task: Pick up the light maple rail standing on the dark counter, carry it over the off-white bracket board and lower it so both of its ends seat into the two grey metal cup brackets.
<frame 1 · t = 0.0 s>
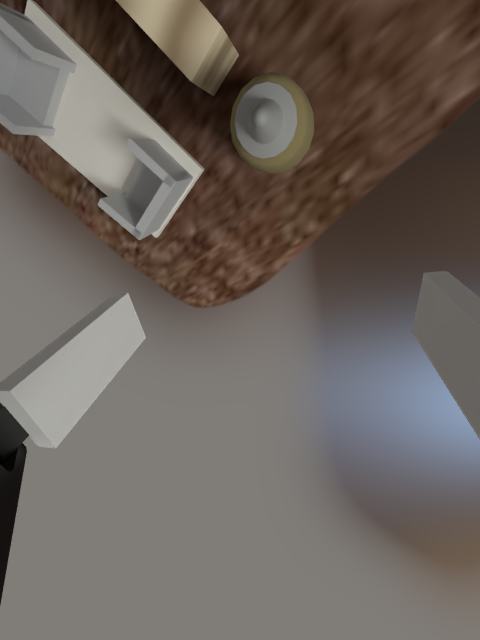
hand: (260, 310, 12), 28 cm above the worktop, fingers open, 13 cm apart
rail: (161, 3, 28), on the worktop
squeeze bottle: (277, 133, 32), on the worktop
bracket board: (107, 138, 35), on the worktop
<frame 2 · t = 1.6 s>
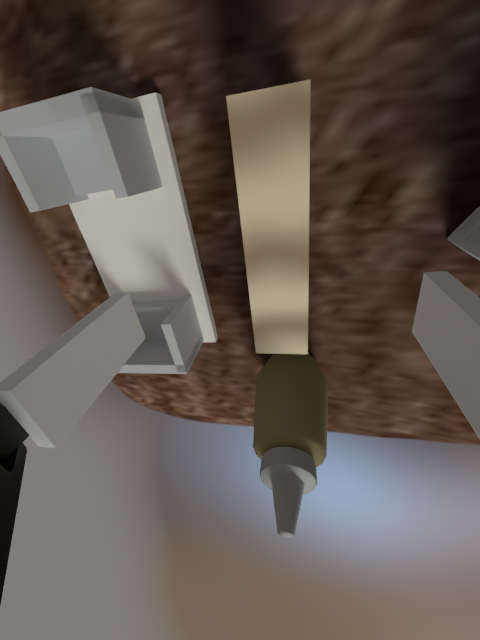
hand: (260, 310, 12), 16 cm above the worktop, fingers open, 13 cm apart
rail: (281, 226, 26), on the worktop
squeeze bottle: (291, 363, 34), on the worktop
bracket board: (144, 247, 29), on the worktop
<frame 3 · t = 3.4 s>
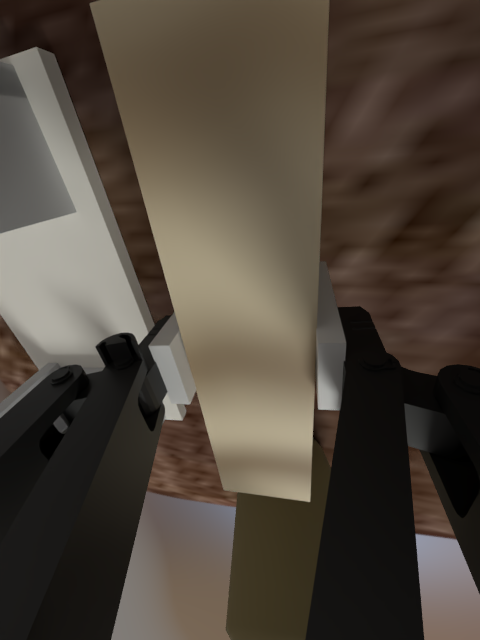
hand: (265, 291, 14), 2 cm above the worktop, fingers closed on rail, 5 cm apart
rail: (269, 274, 16), on the worktop, touching gripper
squeeze bottle: (289, 446, 25), on the worktop
bracket board: (69, 296, 20), on the worktop
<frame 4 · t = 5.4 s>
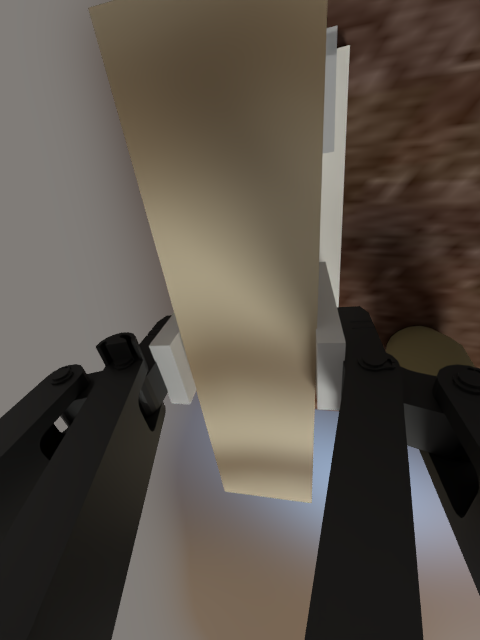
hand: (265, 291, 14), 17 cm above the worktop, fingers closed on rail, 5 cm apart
rail: (269, 275, 16), point 15 cm above the worktop, touching gripper
squeeze bottle: (411, 343, 33), on the worktop
bracket board: (280, 219, 28), on the worktop
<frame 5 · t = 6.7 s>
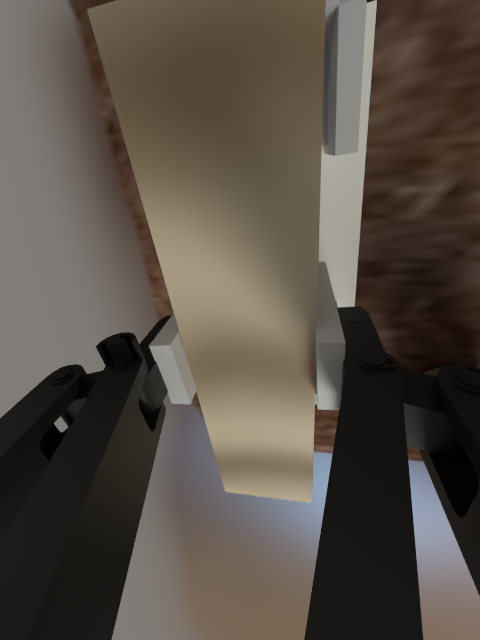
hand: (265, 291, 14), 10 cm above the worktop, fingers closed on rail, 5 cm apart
rail: (269, 275, 16), point 8 cm above the worktop, touching gripper
bracket board: (279, 238, 22), on the worktop
when the fingers open (6 cm above the worktop, at t = 7.7 s): rail stays where it is, resting on bracket board.
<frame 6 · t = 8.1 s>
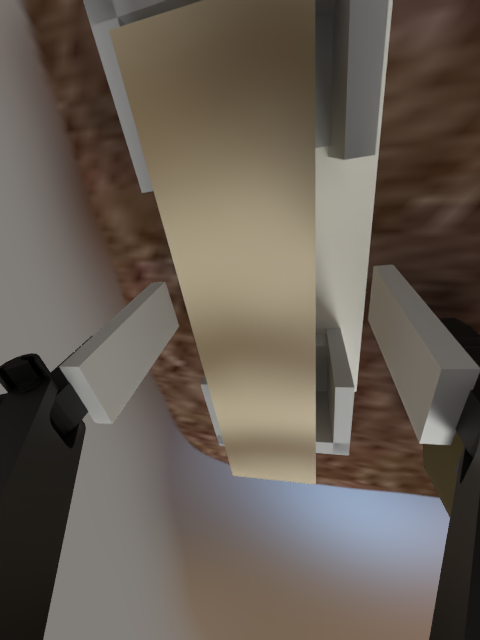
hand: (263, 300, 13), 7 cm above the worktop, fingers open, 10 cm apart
rail: (271, 269, 17), point 2 cm above the worktop, touching bracket board
squeeze bottle: (458, 420, 24), on the worktop
bracket board: (273, 256, 19), on the worktop
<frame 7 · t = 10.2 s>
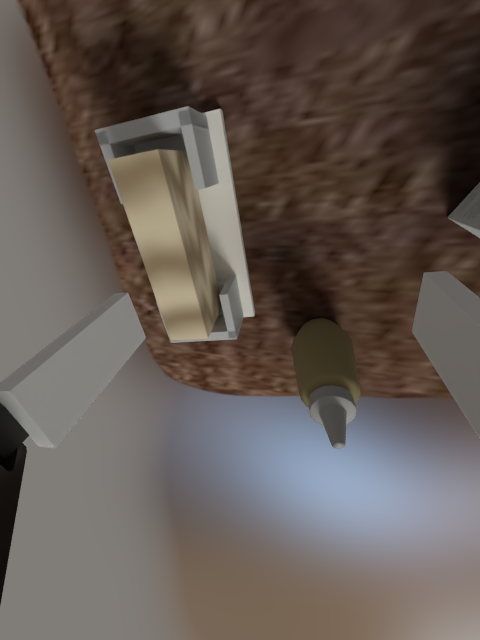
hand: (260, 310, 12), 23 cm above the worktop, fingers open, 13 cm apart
rail: (190, 241, 33), point 2 cm above the worktop, touching bracket board
squeeze bottle: (318, 333, 40), on the worktop
bracket board: (196, 235, 35), on the worktop
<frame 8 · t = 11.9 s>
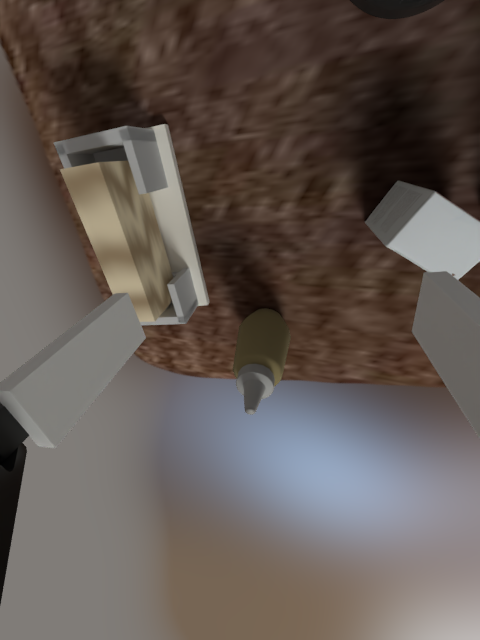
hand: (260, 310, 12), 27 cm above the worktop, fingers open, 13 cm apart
rail: (146, 236, 37), point 2 cm above the worktop, touching bracket board
squeeze bottle: (266, 322, 45), on the worktop
small box: (405, 218, 33), on the worktop
bracket board: (154, 232, 40), on the worktop
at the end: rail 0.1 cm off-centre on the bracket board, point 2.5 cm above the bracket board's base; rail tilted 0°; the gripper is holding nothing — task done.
